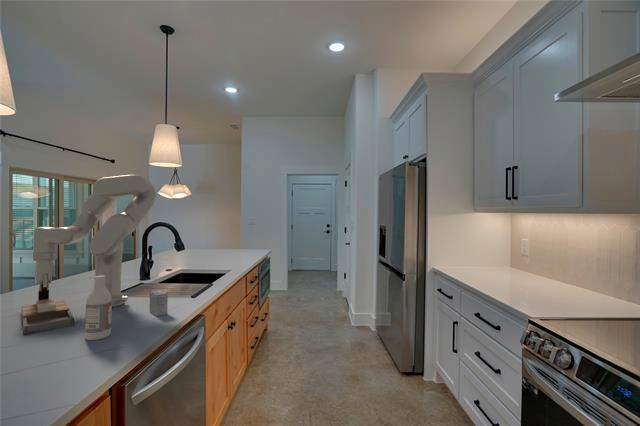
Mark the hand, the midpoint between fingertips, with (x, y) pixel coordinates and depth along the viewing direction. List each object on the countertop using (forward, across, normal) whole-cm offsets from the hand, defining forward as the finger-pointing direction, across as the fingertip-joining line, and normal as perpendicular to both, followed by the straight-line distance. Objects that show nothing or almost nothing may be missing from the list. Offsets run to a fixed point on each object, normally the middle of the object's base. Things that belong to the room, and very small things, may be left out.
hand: (43, 299), depth 127 cm
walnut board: (+4, +11, 0) cm, 12 cm away
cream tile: (+1, +15, 0) cm, 15 cm away
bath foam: (+4, +50, +11) cm, 51 cm away
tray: (+4, +26, 0) cm, 26 cm away
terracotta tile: (+1, +8, 0) cm, 9 cm away
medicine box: (+4, +37, +33) cm, 50 cm away
